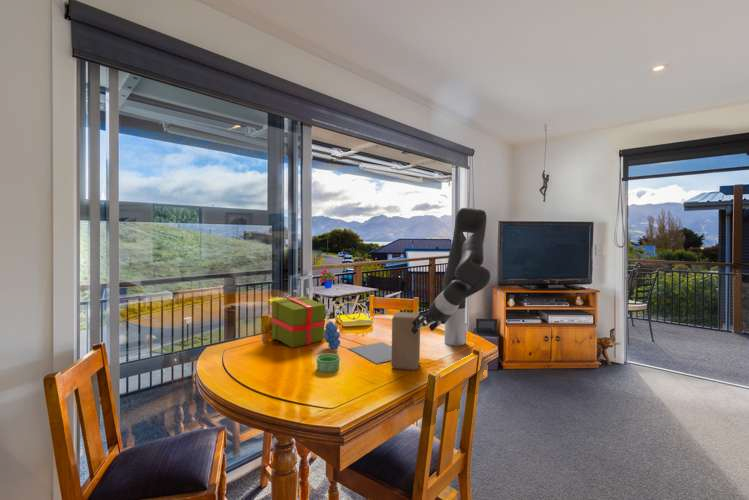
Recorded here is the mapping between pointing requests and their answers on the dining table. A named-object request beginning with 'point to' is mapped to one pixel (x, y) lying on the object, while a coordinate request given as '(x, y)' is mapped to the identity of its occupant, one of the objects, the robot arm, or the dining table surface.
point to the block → (405, 342)
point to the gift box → (298, 321)
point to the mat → (375, 352)
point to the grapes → (332, 335)
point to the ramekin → (328, 362)
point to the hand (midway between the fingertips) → (422, 330)
